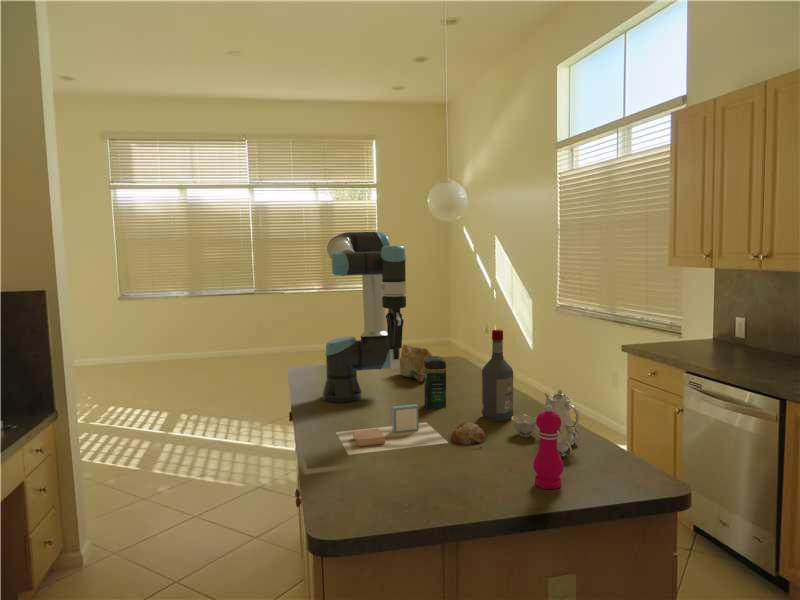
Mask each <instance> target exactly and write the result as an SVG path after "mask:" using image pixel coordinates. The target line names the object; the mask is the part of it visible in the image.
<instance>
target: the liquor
mask: <svg viewBox="0 0 800 600" xmlns="http://www.w3.org/2000/svg"><path fill="white" fill-rule="evenodd" d="M503 340H504V330H503V329H492V331H491V341H492V346H491V347H492V351H491V352H492V353H491V358H490V359H489V361H488V362H486V364H485V365H484V366H483V367H482V370H481V414H482V416H483V418H484V420H489V421H493V422H506V421H507V420H510V419H512V416H514V371H513V368H512V367H511V366H510V364H509V363H508V362H507V361H506V360H505V359H504V351H503V350H504V348H503V347H504V344H503Z"/></svg>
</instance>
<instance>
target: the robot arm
mask: <svg viewBox="0 0 800 600" xmlns="http://www.w3.org/2000/svg"><path fill="white" fill-rule="evenodd" d="M326 251H327V255H328V256H329V258H330V260H331V262H330V263H331V273H332V275H334V276H341V277H345V276H360V275H361V279H362V280H361V281H362V282H361V283H362V302H363V303H362V305H363V327H364V328H363V329H364V331H363V332H362V333H361V335H360V339H359V340H357V338H356V337H354V336H344V337H338V338H334V339H331V340H329V341H328V342H327V343H326V345H325V356H326V357H325V358H326V359H325V363H326V366H325V368H326V380H325V383H324V388H323V389H322V390H323V391H322V400H323V401H325V402H328V403H334V404H341V403H343V404H344V403H351V402H355V401H358V400H360V399H362V389H361V387H360V384H359V380H358V377H357V375H358V374H357V371H373V370H385V369H390V370H392V371H393V370H400V357H401V354H400V353H401V349H402V347H403V329H404V327H403V325H404V321H405V320H404V319H403V315H402V313H401V310H402V309H403V308H406V307H407V296H406V294H407V281H406V280H407V278H406V267H407V266H406V265H407V264H406V263H407V262H406V259H407V256H406V248H405V246H403V245H391V244H390V239H389V237H388V235H387V234H386V233H385V232H383V231H347V232H341V233H340V234H338V235H335V236H333V237H332V238H331V239H330V241H328V243H327V247H326ZM386 309H388V310H387V311H388V312H387V313H386Z"/></svg>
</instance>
